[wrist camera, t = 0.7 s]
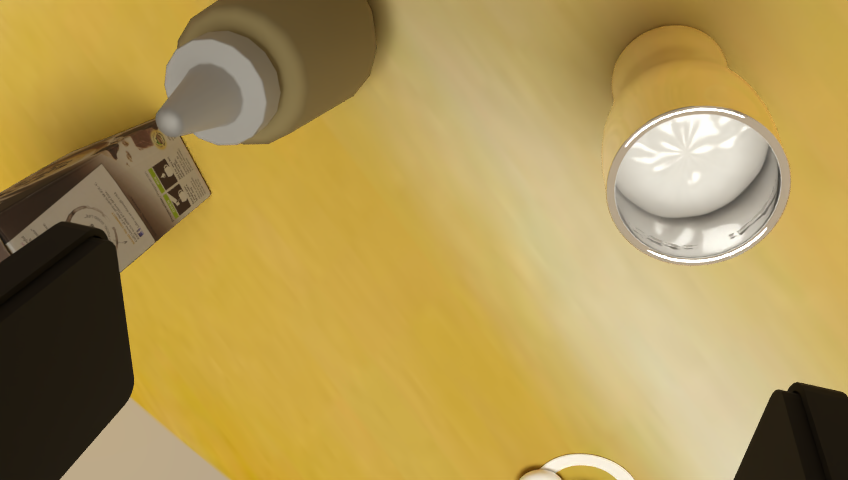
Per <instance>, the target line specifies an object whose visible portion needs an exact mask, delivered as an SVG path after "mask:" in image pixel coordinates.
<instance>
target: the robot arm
mask: <svg viewBox="0 0 848 480" xmlns="http://www.w3.org/2000/svg"><path fill="white" fill-rule="evenodd" d="M133 386H134V375H133V367H132V360H131V352H130V345H129V338H128V330H127V323H126V316H125V308H124V301H123V293H122V286H121V279H120V271H119V264H118V257H117V250H116V246H115V245H114V243H113V242H111V241H109V240H108V237H107V235H106V233H105V232H104V231H103V230H101V229H99V228H95V227H91V226H86V225H82V224H77V223H72V222H68V221H61V222H59V223H57V224H55V225H53V226H52V227H51V228H49V229H48V230H46V231H45V232H43V233H42V234H41V235H39V236H38V237H36V238H35V239H33V240H32V241H30V242H29V243H28V244H26V245H25V246H23V247H22V248H20V249H19V250H17V251H16V252H15V253H13V254H12V255H10V256H9V257H7V258H6V259H4V260H3V261H2V262H0V480H60V478H61V477H62V476H63V475H64V474H65V473H66V472H67V470H68V469H69V468H70V467H71V466H72V465H73V464H74V462H75V461H76V460H77V459H78V458H79V457H80V455H81V454H82V453H83V452H84V451H85V450H86V448H87V447H88V446H89V445H90V444H91V443H92V442H93V441H94V439H95V438H96V437H97V436H98V435H99V434H100V433H101V431H102V430H103V429H104V428H105V427H106V426H107V424H108V423H109V422H110V421H111V420H112V419H113V418H114V416H115V415H116V414H117V413H118V412H119V411H120V410H121V408H122V407H123V406H124V405H125V404H126V402H127V401H128V399H129V397H130V395H131V393H132V390H133ZM734 480H848V397H847V395H846V394H845V393H843V392H840V391H836V390H831V389H827V388H822V387H817V386H813V385H808V384H804V383H799V382H796V383H793V384H792V385H791V386H790V387H789V389H788V391H783V390H775V391H774V392H773V394H772V395H771V397H770V399H769V402H768V404H767V406H766V408H765V410H764V413H763V415H762V417H761V419H760V422H759V424H758V426H757V428H756V431H755V433H754V435H753V437H752V440H751V442H750V444H749V446H748V449H747V451H746V453H745V455H744V458H743V460H742V462H741V464H740V466H739V469H738V471H737V473H736V475H735V478H734Z"/></svg>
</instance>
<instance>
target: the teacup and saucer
mask: <svg viewBox="0 0 848 480" xmlns="http://www.w3.org/2000/svg"><path fill="white" fill-rule="evenodd" d="M574 465H588V466H594V467H597V468H600V469H603V470H605V471H607V472H608V473H610V474H611V475H613V476H614V477H615V478H616V479H617V480H634V478H633V477H632V476H631V475H630V474H629V473H628V472H627V471H626V470H625V469H624V468H623V467H621V466H620V465H618V464H617V463H615V462H613V461H611V460H608V459H606V458H603V457H600V456H596V455H590V454H569V455H564V456H560V457H557V458H555V459H553V460H551V461H549V462H547V463H546V464H545V465H543V466H542V467H541V468H540V469H539V470H533V471H530V472H528V473H526V474H525V475H523V476H522V477H521V478H520V480H562V479H561V478H560V477H559V476H558V475H557V474H555V473H557V472H558V471H559V470H561V469H563V468H566V467H569V466H574Z"/></svg>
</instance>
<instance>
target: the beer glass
mask: <svg viewBox="0 0 848 480" xmlns="http://www.w3.org/2000/svg"><path fill="white" fill-rule="evenodd" d="M611 87H612V95H613V99H614V103H613V105H612V107H611V110H610V112H609V115H608V117H607V120H606V123H605V127H604V132H603V139H602V149H601V158H602V172H603V179H604V184H605V189H606V199H607V205H608V209H609V212H610V215H611V218H612V220H613V222H614V224H615V226H616V227H617V229H618V230H619V232H620V233H621V234H622V235H623V237H624V238H625V239H626V240H627V241H628V242H629V243H630V244H631V245H633V246H634V247H635V248H637V249H638V250H639V251H641V252H643V253H644V254H646V255H648V256H650V257H652V258H655V259H657V260H660V261H663V262H667V263H671V264H677V265H687V266H698V265H708V264H714V263H718V262H722V261H725V260H728V259H731V258H733V257H736V256H738V255H740V254H742V253H744V252H746V251H747V250H749V249H751V248H752V247H754V246H755V245H756V244H758V243H759V242H760V241H761V240H762V239H764V238H765V237H766V236H767V235H768V234H769V233H770V231H771V230H772V229H773V228H774V227H775V225H776V224H777V222H778V221H779V219H780V218H781V216H782V214H783V212H784V210H785V207H786V205H787V202H788V199H789V194H790V188H791V172H790V165H789V162H788V158H787V155H786V153H785V151H784V149H783V146H782V143H781V140H780V137H779V134H778V131H777V128H776V125H775V123H774V121H773V119H772V117H771V115H770V113H769V111H768V109H767V107H766V105H765V104H764V102H763V101H762V100H761V98H760V97H759V96H758V94H757V93H756V92H755V90H754V89H753V88H752V87H751V86H750V85H749V84H748V83H747V82H746V81H745V80H744V79H742V78H741V77H740V76H738V75H737V74H736V73H734V72H733V71H732V70H730V69H728V65H727V61H726V58H725V56H724V54H723V52H722V50H721V48H720V47H719V45H718V44H717V43H716V42H715V41H714V40H713V39H712V38H711V37H710V36H708V35H707V34H705V33H704V32H702V31H700V30H698V29H695V28H692V27H688V26H683V25H668V26H662V27H658V28H654V29H652V30H649V31H647V32H645V33H643V34H642V35H640V36H638V37H637V38H636V39H634V40H633V41H632V42H631V43H630V44H629V45H628V46H627V47H626V48H625V49H624V50H623V52H622V53H621V55H620V56H619V58H618V60H617V62H616V64H615V67H614V70H613V74H612V82H611Z"/></svg>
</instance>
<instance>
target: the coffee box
mask: <svg viewBox="0 0 848 480" xmlns="http://www.w3.org/2000/svg"><path fill="white" fill-rule="evenodd" d="M209 196H210V191H209V189H208V188H207V186H206V184H205V182H204V180H203V178H202V176H201V175H200V173H199V171H198V169H197V167H196V166H195V163H194V162H193V160H192V158H191V156H190V154H189V152H188V151H187V149H186V147H185V145H184V143H183V141H182V140H181V138H180V136H178V137H169V136H166V135H165V134H163V133H162V132H161V131H160V130H159V128H158V127H157V124H156V119H153V120H150V121H148V122H145V123H143V124H140V125H138V126H136V127H133V128H131V129H128V130H126V131H123V132H121V133H118V134H116V135H113V136H111V137H108V138H106V139H103V140H101V141H98V142H96V143H93V144H91V145H88V146H86V147H83V148H81V149H78V150H76V151H73V152H71V153H69V154H67V155H65V156H64V157H62V158H60V159H58V160H56V161H54V162H53V163H51V164H49V165H47V166H46V167H44V168H42V169H40V170H39V171H37V172H35V173H33V174H31V175H30V176H28V177H26V178H25V179H23V180H21V181H20V182H18V183H16V184H15V185H13V186H11V187H9V188H8V189H6V190H4V191H2V192H1V193H0V262H2V261H3V260H4V259H6V258H7V257H9V256H10V255H12V254H13V253H15V252H16V251H17V250H19V249H20V248H22V247H23V246H25V245H26V244H28V243H29V242H30V241H32V240H33V239H35V238H36V237H38V236H39V235H41V234H42V233H43V232H45V231H46V230H48V229H49V228H51V227H52V226H53V225H55V224H57V223H59V222H61V221H68V222H72V223H77V224H82V225H86V226H91V227H95V228H99V229H101V230H103V231H104V232H105V233H106V235H107V237H108V240H109V241H111V242H113V243H114V245H115V246H116V250H117V257H118V264H119V271H120V272H122V271H123V270H124V269H125V268H126V267H127V266H129V265H130V264H131V263H132V262H133V261H134V260H136V259H137V258H138V257H139V256H140V255H142V254H143V253H144V252H145V251H146V250H148V249H149V248H150V247H151V246H152V245H153V244H154V243H155V242H156V241H158V240H159V239H160V238H161V237H162V236H163V235H164V234H166V233H167V232H168V231H169V230H170V229H172V228H173V227H174V226H175V225H176V224H177V223H179V222H180V221H181V220H182V219H183V218H184V217H186V216H187V215H188V214H189V213H190V212H191V211H193V210H194V209H195V208H196V207H197V206H199V205H200V204H201V203H202V202H203V201H204V200H206V199H207V198H208V197H209Z"/></svg>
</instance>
